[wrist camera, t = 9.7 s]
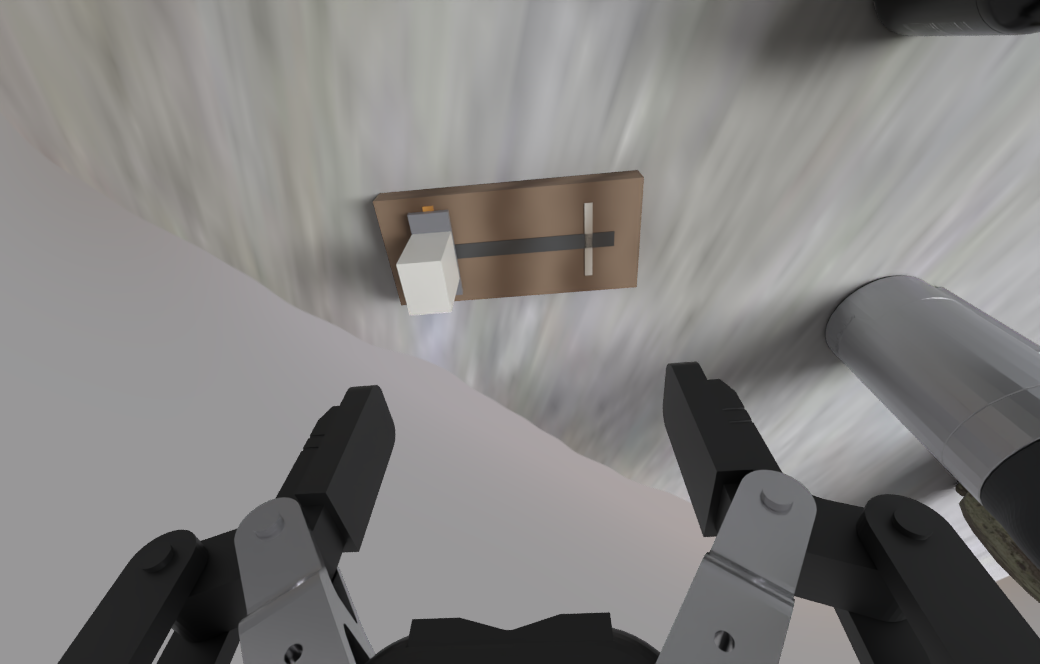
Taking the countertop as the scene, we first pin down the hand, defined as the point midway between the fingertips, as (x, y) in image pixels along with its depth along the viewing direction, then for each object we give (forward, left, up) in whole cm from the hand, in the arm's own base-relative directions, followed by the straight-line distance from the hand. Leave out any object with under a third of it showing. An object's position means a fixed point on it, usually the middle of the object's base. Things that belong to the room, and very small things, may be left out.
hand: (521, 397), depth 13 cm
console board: (+1, +6, -26) cm, 26 cm away
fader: (+7, +5, -23) cm, 25 cm away
